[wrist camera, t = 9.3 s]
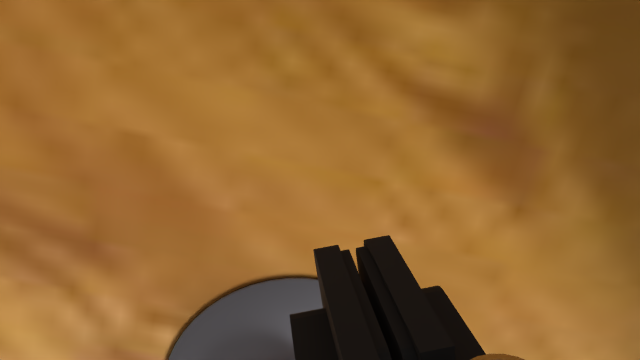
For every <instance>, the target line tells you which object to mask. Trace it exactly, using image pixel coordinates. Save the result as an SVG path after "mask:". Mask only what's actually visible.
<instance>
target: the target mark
mask: <svg viewBox="0 0 640 360" xmlns="http://www.w3.org/2000/svg"><path fill="white" fill-rule="evenodd" d="M321 308H323V306H322V300H321V294H320V288H319V282H318V279H312V278H282V279H274V280H268V281H264V282H260V283H256V284H252V285H249V286H247V287H244V288H241V289H239V290H236V291H234V292H232V293H230V294H228V295H226V296H224V297H222V298H221V299H219V300H218V301H216V302H215V303H213V304H212V305H210V306H209V307H207V308H206V309H205V310H204V311H203V312H201V313H200V314H199V315H198V316H197V317H196V318H195V319H194V320H193V321H192V322H191V323H190V324H189V326H188V327H187V328H186V329H185V330H184V331H183V333H182V334H181V336H180V338H179V339H178V341H177V342H176V344H175V346H174V348H173V350H172V352H171V354H170V357H169V360H295V355H294V347H293V339H292V332H291V324H290V314H295V313H300V312H305V311H311V310H316V309H321Z"/></svg>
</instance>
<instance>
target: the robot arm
mask: <svg viewBox="0 0 640 360" xmlns="http://www.w3.org/2000/svg"><path fill="white" fill-rule="evenodd" d="M356 256H357V264H358V271H359V273H358V271H357V268H356V266H355V263H354V261H353V258H352V256H351V253H350V251H349V250H343V251H340V248H339V246H338V245H334V246H329V247H324V248H318V249H314V257H315V263H316V269H317V276H318V282H319V288H320V294H321V300H322V306H323V308H321V309H316V310H311V311H305V312H300V313H295V314H290V324H291V332H292V339H293V347H294V355H295V360H524V359H522V358H519V357H516V356H511V355H506V354H485V352H484V351H483V349H482V348H481V346H480V345H479V343H478V342H477V340H476V339H475V337H474V336H473V334H472V333H471V331H470V330H469V328H468V327H467V325H466V324H465V322H464V321H463V319H462V318H461V316H460V315H459V313H458V312H457V310H456V309H455V307H454V306H453V304H452V303H451V301H450V300H449V298H448V297H447V295H446V294H445V292H444V291H443V289H442V288H441V287H440V286H433V287H428V288H423V289H421V288H420V286H419V285H418V283H417V281H416V280H415V278H414V276H413V274H412V273H411V271H410V269H409V268H408V266H407V264H406V263H405V261H404V259H403V258H402V256H401V254H400V253H399V251H398V249H397V247H396V246H395V244H394V242H393V241H392V239H391V237H390V236H389V235H388V236H382V237H377V238H372V239H366V240H364V247H359V248H356Z"/></svg>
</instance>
